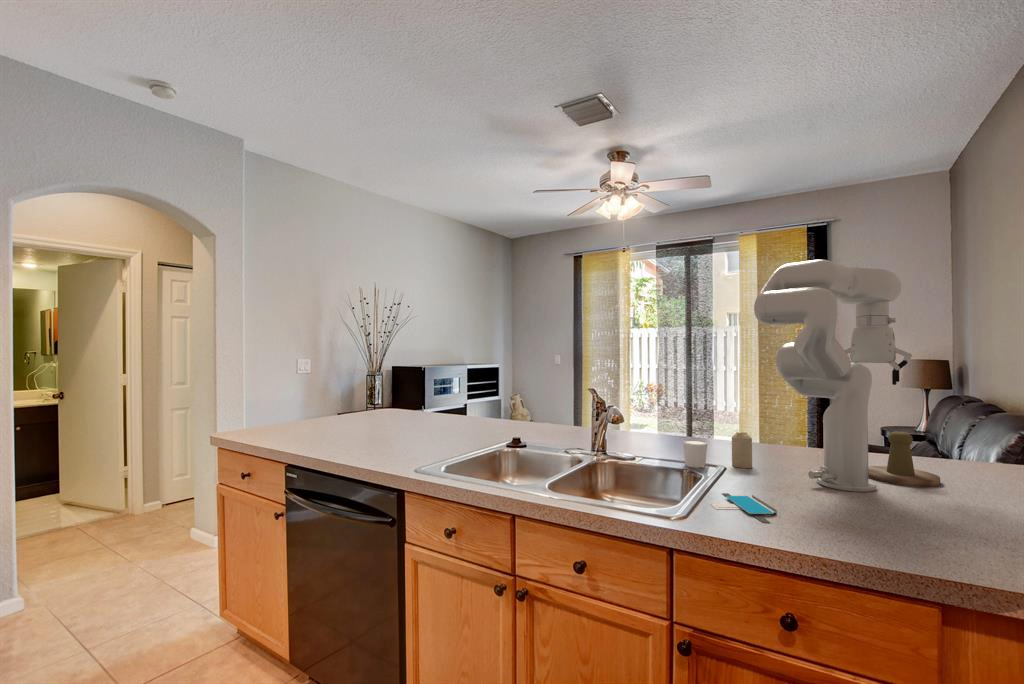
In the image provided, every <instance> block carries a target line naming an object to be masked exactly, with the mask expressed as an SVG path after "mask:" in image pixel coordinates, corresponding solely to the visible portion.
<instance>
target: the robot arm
mask: <svg viewBox="0 0 1024 684" xmlns="http://www.w3.org/2000/svg"><path fill="white" fill-rule="evenodd" d="M901 292H902V284H901V279H900V278H899V277H898V275H897V274H896V273H894V272H893V271H890V270H887V269H884V268H883V269H882V268H869V267H868V268H867V267H858V266H857V267H856V266H846V265H843V264H839V263H836V262H834V261H831V260H827V259H813V260H812V259H811V260H805V261H799V262H791V263H786V264H782V265H781V266H779V267H778V268H777V269H776V270H774V272H773V273H772V274H771V275H770V276H769V278H768V279H767V281H766V282H765V283H764V285H763V287H762V288H761V290H760V291H759V292H758V294H757V296H756V298H755V301H754V304H753V311H754V313H753V314H754V316H755V318H756V320H757V321H758V322H760V323H761V324H763V325H765V326H791V325H793V326H794V325H795V326H796V325H805V326H804V327H803V328H802V329H801V330H800V331H799V333H798V334H797V335H796V337H795V338H794V342H788V343H785V344H783V345H781V346H780V348H779V349H778V350H777V353H776V357H775V364H776V369H777V371H778V373H779V376H780V377H781V379H783V380H784V381H785V382H786V383H787V384H788V386H790V387H791V388H792V389H793V390H794V391H795V392H796V394H797V393H798V394H799V395H801V396H803V397H808V398H810V397H811V398H822V399H823V398H825V399H832V400H833V401H832V402H831V403H830V405H828V407H827V408H826V409H825V411H824V413H823V416H822V423H823V425H822V427H823V430H822V431H823V432H822V433H823V437H822V439H823V442H822V443H823V465H820V469H818V470H809V471H808V474H807V475H808V477H809V479H811V480H813V479H816V482H817V483H818V484H819V485H822V486H824V487H827V488H830V489H834V490H835V489H836V490H841V491H845V492H847V491H848V492H863V493H865V492H866V493H867V492H873V491H876V489H877V484H876V483H875V482H874V481H871V480H869V478H868V467H869V429H868V428H869V425H868V424H869V423H868V422H869V420H868V419H869V416H868V415H869V414H868V413H869V401H870V394H871V390H872V389H871V388H872V382H873V377H872V372H871V370H870V369H869V368H868V367H867V366H866V365H864V364H889V365H890V366H891V367H892V368H893V370H892V371H891V379H892V380H891V383H892V386H893V385H894V386H897V383H900V370H901V369H902V368H904V367H905V366H906V365H908V363H909V362H910V360H911V359H912V357H913V354H912V353H910V352H907V351H905V350H903V349H900V348H897V347H896V338H895V333H894V328H893V327H892V326H891V327H890V325H891V324H895V323H896V322H897V321H896V318H895V317H894V318H893V317H890V312H889V311H890V307H889V306H890V304H889V303H890V302H893V301H896V300H897V299H898V297H899V296H900V295H901ZM837 301H839V302H841V303H842V304H845V305H855V327H853V329H852V333H851V337H850V340H851V341H850V347H849V348H846V349H844V348H843V346H842V345H841V344H840V343H839V341H838V340H837V338H836V337H835V333H836V327H837V320H838V319H837V318H838V317H837V316H838V302H837ZM848 354H849V355H848ZM897 354H898V355H900V356H903V357H904V358H903V359H902V360H901V361H900V362H899V363H897V362H896V359H897ZM863 363H864V364H863Z"/></svg>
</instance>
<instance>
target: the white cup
mask: <svg viewBox="0 0 1024 684" xmlns="http://www.w3.org/2000/svg"><path fill="white" fill-rule="evenodd" d="M682 444H683V451H684V452H683V453H684V454H683V455H684V463H685V466H686V467H689V468H696V469H700V468H699V467H702V466H704V465H705V466H706V464H707V463H706V461H707V452H708V451H707V448H708V442H705V441H702V440H701V441H700V440H684V441H683V443H682Z"/></svg>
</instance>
